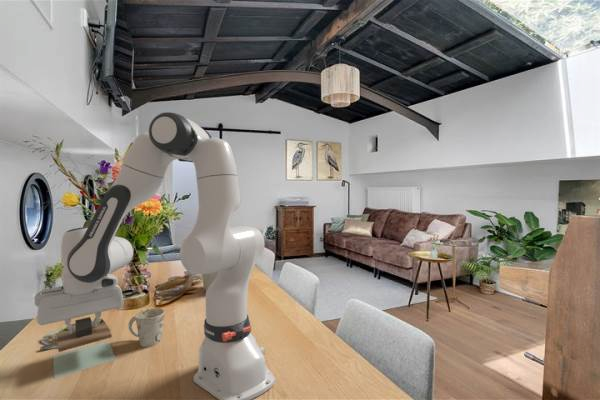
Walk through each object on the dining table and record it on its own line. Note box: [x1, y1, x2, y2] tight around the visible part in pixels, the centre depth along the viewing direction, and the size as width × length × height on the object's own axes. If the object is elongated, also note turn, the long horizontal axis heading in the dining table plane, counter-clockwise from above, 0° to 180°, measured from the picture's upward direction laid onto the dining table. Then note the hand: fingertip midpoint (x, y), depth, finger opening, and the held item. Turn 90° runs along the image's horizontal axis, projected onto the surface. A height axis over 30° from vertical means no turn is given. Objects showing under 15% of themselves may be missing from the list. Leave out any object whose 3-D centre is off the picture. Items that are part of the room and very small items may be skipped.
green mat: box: [52, 340, 117, 379], centre depth 90 cm, size 14×14×1 cm
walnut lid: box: [56, 316, 113, 353], centre depth 89 cm, size 12×12×5 cm
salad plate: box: [39, 318, 111, 351], centre depth 102 cm, size 19×18×5 cm
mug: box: [128, 307, 165, 348], centre depth 99 cm, size 8×13×10 cm, turn 78°
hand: (83, 330), depth 89 cm, fingers closed on walnut lid, 3 cm apart
